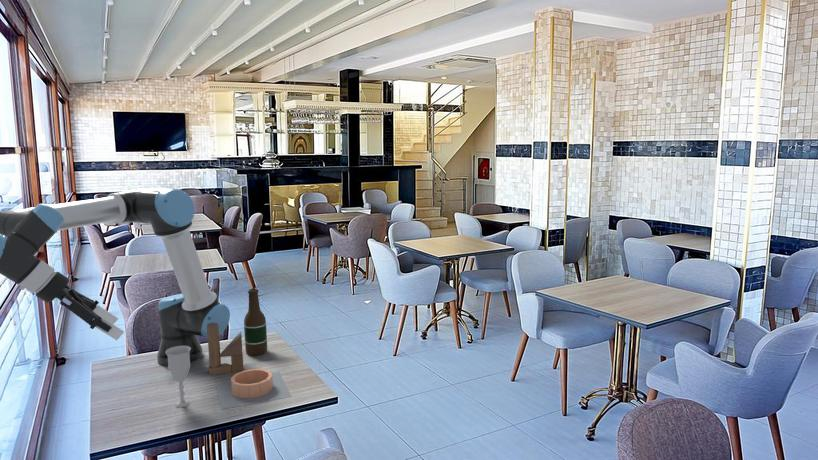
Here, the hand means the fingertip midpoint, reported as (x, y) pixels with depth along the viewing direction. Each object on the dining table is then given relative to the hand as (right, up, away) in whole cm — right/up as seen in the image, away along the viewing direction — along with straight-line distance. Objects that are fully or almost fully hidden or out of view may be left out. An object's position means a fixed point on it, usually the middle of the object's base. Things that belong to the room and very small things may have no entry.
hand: (117, 328), depth 150 cm
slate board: (+30, -24, +22) cm, 44 cm away
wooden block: (+18, -22, +36) cm, 46 cm away
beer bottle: (+22, -19, +56) cm, 63 cm away
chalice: (+13, -26, +12) cm, 31 cm away
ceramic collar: (+30, -22, +21) cm, 43 cm away
